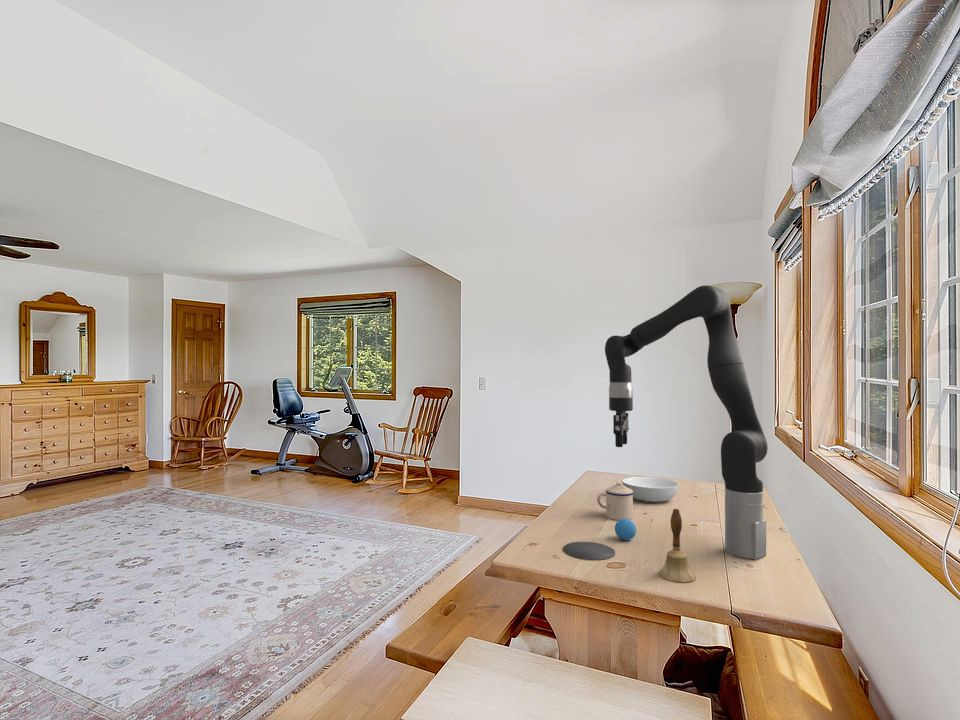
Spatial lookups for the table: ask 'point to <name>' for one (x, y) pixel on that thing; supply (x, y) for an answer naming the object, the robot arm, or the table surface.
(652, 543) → the table surface
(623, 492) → the teacup with lid
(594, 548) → the charcoal disc
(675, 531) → the hand bell
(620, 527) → the ball
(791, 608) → the table surface
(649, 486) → the serving bowl
